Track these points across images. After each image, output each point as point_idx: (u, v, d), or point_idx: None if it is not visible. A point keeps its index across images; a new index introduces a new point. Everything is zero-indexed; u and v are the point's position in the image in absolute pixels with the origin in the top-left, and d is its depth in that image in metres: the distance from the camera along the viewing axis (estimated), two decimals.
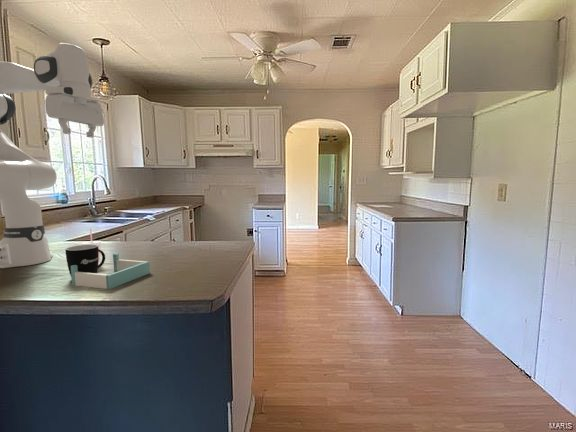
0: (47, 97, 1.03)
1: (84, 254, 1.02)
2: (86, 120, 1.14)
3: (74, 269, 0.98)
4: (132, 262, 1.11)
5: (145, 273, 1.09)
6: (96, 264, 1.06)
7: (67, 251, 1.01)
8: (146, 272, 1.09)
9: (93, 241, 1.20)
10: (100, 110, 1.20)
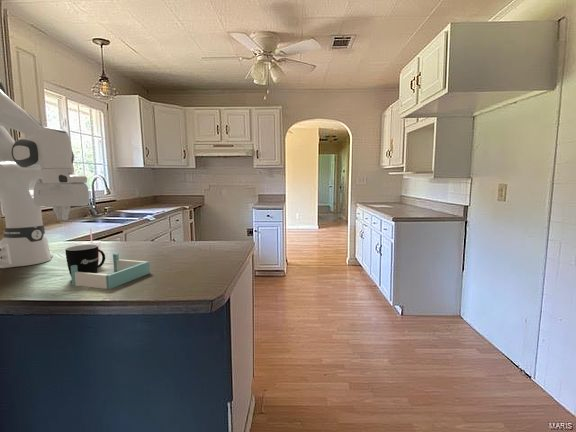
0: (77, 186, 1.03)
1: (84, 254, 1.02)
2: None
3: (74, 269, 0.98)
4: (132, 262, 1.11)
5: (145, 273, 1.09)
6: (96, 264, 1.06)
7: (67, 251, 1.01)
8: (146, 272, 1.09)
9: (93, 241, 1.20)
10: None
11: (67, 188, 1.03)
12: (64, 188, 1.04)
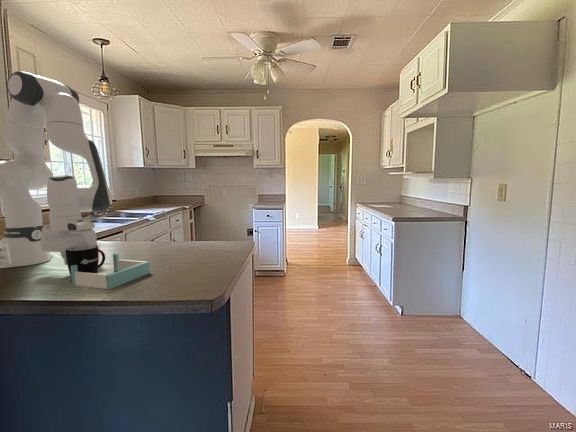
0: (86, 234, 1.05)
1: (84, 254, 1.02)
2: None
3: (74, 269, 0.98)
4: (132, 262, 1.11)
5: (145, 273, 1.09)
6: (96, 264, 1.06)
7: (67, 251, 1.01)
8: (146, 272, 1.09)
9: None
10: None
11: (75, 235, 1.06)
12: (72, 235, 1.06)
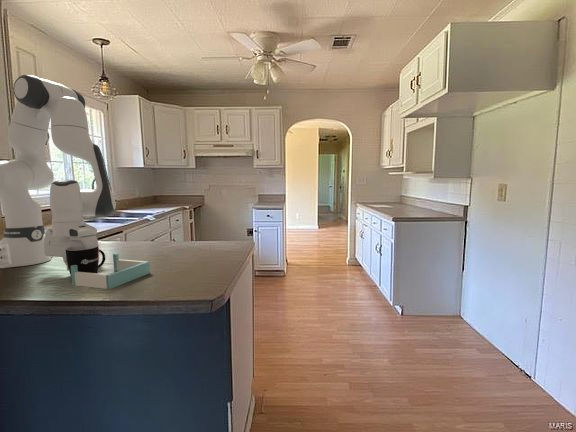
0: (87, 240, 1.04)
1: (84, 254, 1.02)
2: None
3: (74, 269, 0.98)
4: (132, 262, 1.11)
5: (145, 273, 1.09)
6: (96, 264, 1.06)
7: (67, 251, 1.01)
8: (146, 272, 1.09)
9: None
10: None
11: (77, 241, 1.04)
12: (74, 241, 1.05)
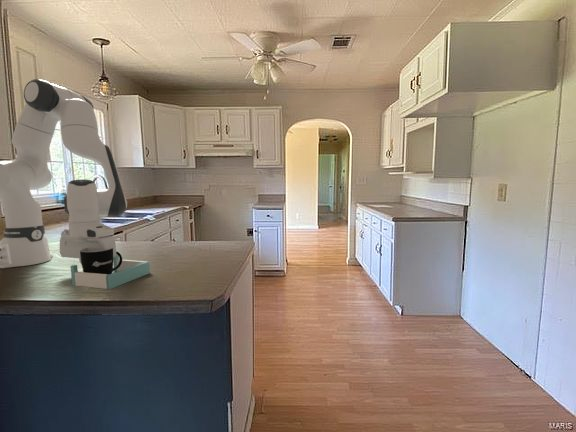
0: (105, 241, 1.02)
1: (95, 256, 0.98)
2: None
3: (74, 269, 0.98)
4: (132, 262, 1.11)
5: (145, 273, 1.09)
6: (109, 267, 1.02)
7: (80, 252, 0.99)
8: (146, 272, 1.09)
9: None
10: None
11: (95, 242, 1.03)
12: (92, 242, 1.03)
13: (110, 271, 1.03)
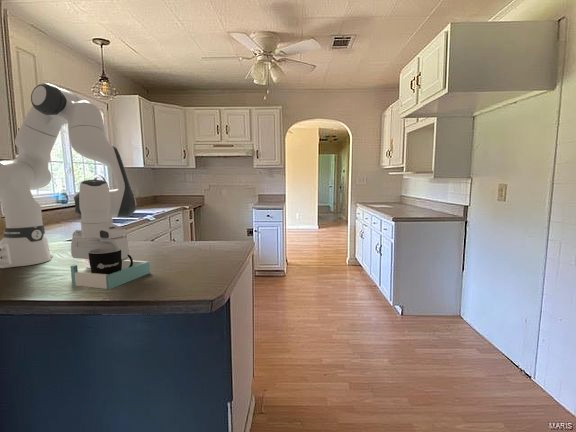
0: (118, 242, 1.01)
1: (100, 258, 0.96)
2: None
3: (74, 269, 0.98)
4: None
5: (145, 273, 1.09)
6: (115, 269, 0.99)
7: None
8: (146, 272, 1.09)
9: None
10: None
11: (107, 243, 1.01)
12: (104, 243, 1.02)
13: None
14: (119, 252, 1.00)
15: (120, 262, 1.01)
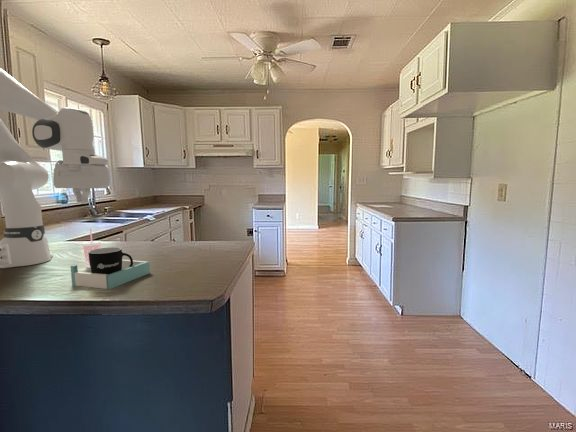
0: (98, 168, 1.02)
1: (100, 258, 0.96)
2: None
3: (74, 269, 0.98)
4: None
5: (145, 273, 1.09)
6: (115, 269, 0.99)
7: None
8: (146, 272, 1.09)
9: (93, 241, 1.20)
10: None
11: (88, 170, 1.02)
12: (85, 170, 1.03)
13: None
14: (119, 252, 1.00)
15: (120, 262, 1.01)
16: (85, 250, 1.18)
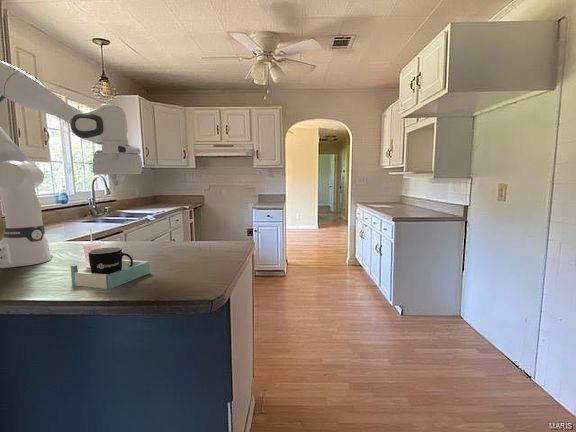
0: (133, 156, 1.18)
1: (100, 258, 0.96)
2: None
3: (74, 269, 0.98)
4: None
5: (145, 273, 1.09)
6: (115, 269, 0.99)
7: None
8: (146, 272, 1.09)
9: (93, 241, 1.20)
10: None
11: (124, 158, 1.19)
12: (122, 158, 1.19)
13: None
14: (119, 252, 1.00)
15: (120, 262, 1.01)
16: (85, 250, 1.18)
